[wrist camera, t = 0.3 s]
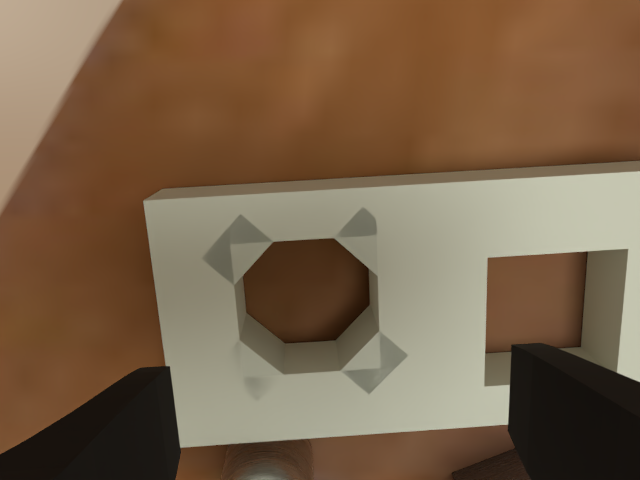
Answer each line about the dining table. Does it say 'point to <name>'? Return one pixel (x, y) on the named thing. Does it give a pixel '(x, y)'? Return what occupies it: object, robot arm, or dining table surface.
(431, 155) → the dining table surface
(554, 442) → the robot arm
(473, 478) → the square dark bit
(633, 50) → the dining table surface
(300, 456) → the cylinder
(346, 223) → the sage board
